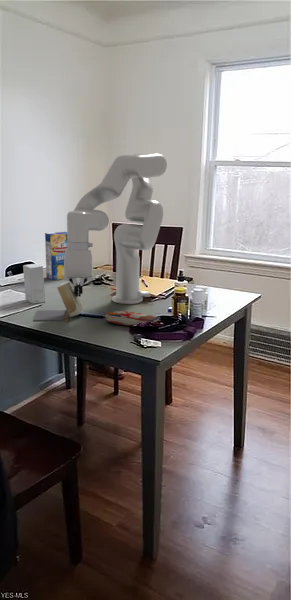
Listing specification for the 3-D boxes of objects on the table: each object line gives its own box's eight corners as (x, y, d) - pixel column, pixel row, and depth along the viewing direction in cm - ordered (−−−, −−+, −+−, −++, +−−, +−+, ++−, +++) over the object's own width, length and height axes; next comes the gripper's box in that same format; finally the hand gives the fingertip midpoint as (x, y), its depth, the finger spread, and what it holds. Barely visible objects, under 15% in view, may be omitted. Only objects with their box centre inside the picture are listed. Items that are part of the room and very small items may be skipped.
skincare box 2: (74, 312, 184) (62, 283, 182) (84, 309, 183) (72, 279, 181) (69, 317, 178) (56, 287, 176) (79, 314, 177) (66, 283, 175)
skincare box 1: (45, 302, 197) (44, 266, 193) (31, 304, 194) (30, 267, 190) (38, 297, 204) (36, 262, 200) (24, 299, 201) (22, 264, 197)
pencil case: (119, 317, 181) (119, 304, 180) (164, 327, 171) (165, 313, 170) (101, 324, 172) (101, 311, 171) (148, 335, 162) (148, 321, 161)
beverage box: (46, 277, 241) (44, 233, 235) (66, 275, 247) (65, 231, 241) (51, 280, 235) (50, 234, 229) (72, 277, 241) (71, 233, 235)
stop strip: (69, 310, 187) (69, 306, 187) (67, 321, 174) (67, 317, 173) (66, 310, 187) (66, 306, 187) (64, 321, 174) (64, 317, 173)
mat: (66, 311, 186) (66, 310, 186) (64, 320, 175) (64, 319, 174) (37, 311, 185) (37, 310, 185) (33, 321, 173) (33, 320, 173)
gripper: (98, 244, 178) (98, 293, 183) (57, 244, 177) (58, 293, 181) (99, 248, 171) (99, 298, 176) (56, 247, 169) (57, 298, 174)
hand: (78, 295), depth 179 cm, fingers closed
